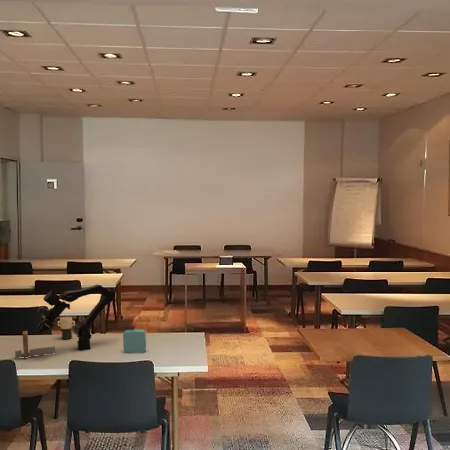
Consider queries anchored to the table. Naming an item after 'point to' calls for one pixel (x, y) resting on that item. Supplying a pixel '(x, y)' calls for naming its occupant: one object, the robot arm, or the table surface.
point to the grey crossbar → (36, 351)
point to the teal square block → (134, 341)
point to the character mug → (66, 327)
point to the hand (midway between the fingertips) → (37, 331)
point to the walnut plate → (25, 344)
